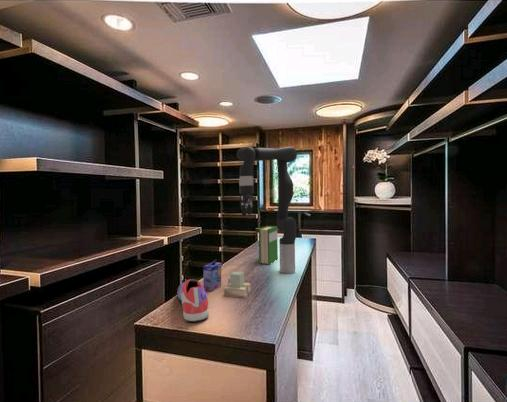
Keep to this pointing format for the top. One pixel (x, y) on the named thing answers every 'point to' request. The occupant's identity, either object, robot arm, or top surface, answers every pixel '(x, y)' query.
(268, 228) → the hardback book
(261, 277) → the top surface
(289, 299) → the top surface
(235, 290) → the maple block
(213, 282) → the ink cartridge box
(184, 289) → the soccer shoe
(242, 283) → the sage block
